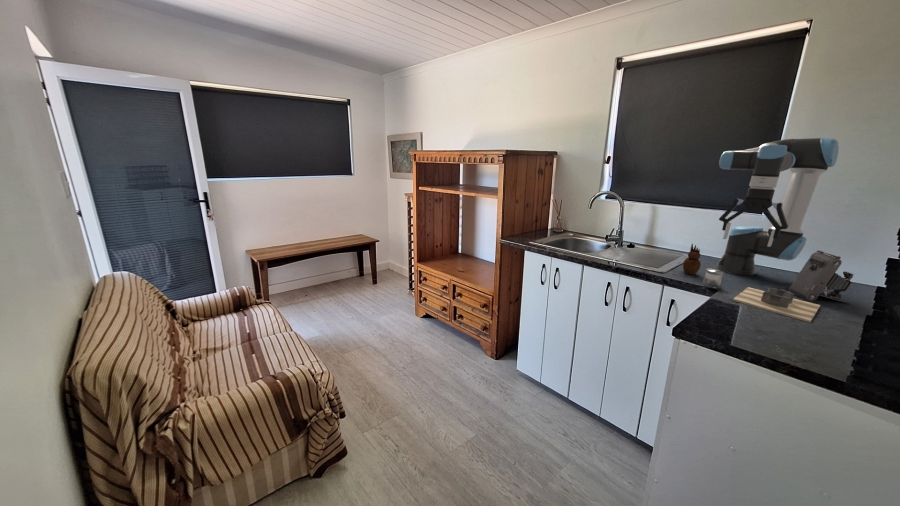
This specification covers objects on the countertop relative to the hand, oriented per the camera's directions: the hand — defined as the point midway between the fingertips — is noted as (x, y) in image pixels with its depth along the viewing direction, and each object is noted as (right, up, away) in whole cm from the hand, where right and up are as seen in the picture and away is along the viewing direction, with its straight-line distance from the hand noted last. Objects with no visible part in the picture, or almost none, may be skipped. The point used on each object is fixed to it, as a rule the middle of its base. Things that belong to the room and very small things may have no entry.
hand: (746, 242), depth 131 cm
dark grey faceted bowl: (+13, -25, +1) cm, 28 cm away
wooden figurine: (+3, -14, +35) cm, 38 cm away
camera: (+37, -23, +8) cm, 45 cm away
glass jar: (+1, -19, +19) cm, 27 cm away
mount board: (+13, -25, +1) cm, 28 cm away
